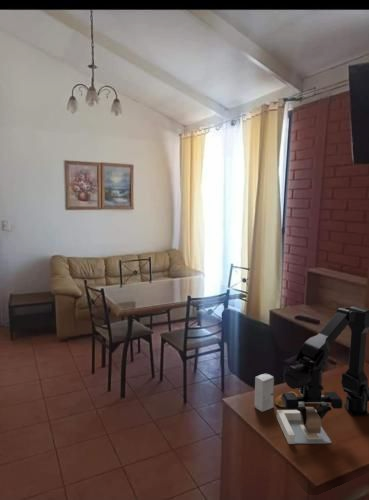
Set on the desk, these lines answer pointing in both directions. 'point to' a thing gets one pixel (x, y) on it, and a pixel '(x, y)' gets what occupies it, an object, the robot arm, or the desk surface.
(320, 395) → the robot arm
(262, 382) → the skincare box
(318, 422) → the walnut block
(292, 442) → the corner arena
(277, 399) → the pastry
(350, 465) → the desk surface
